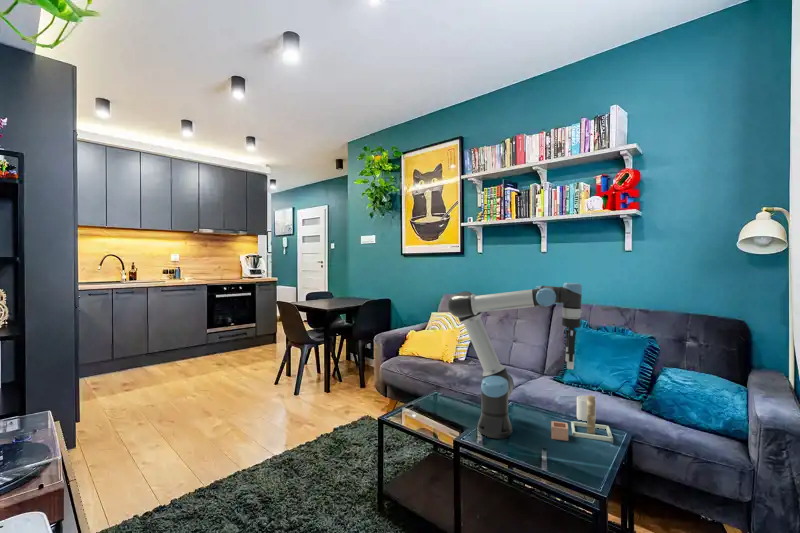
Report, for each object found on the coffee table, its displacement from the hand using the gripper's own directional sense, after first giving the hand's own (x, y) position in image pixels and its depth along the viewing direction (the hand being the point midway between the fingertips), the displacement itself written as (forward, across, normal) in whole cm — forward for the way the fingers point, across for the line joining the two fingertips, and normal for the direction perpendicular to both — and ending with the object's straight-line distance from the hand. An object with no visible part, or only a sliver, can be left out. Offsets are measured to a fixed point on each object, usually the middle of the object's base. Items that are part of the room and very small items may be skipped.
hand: (569, 365), depth 178 cm
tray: (+29, 0, -10) cm, 31 cm away
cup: (+30, +15, -10) cm, 35 cm away
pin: (+29, 0, -10) cm, 30 cm away
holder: (+30, -10, +3) cm, 32 cm away
